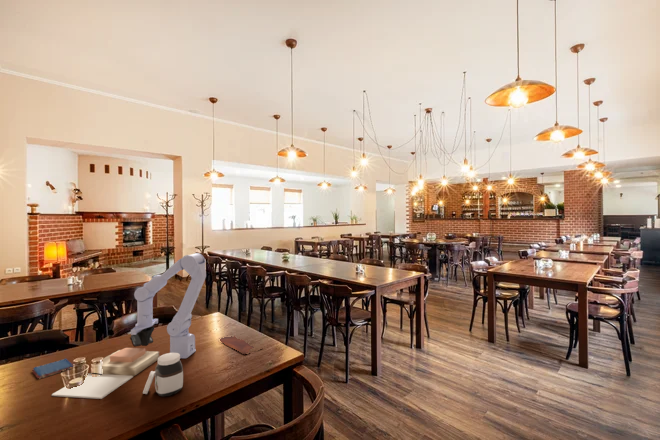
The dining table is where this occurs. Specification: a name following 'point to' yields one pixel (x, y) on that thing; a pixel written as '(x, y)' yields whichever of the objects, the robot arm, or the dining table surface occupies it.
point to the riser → (129, 364)
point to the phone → (138, 340)
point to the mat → (94, 386)
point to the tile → (128, 354)
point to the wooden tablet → (236, 344)
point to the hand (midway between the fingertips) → (145, 345)
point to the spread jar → (166, 375)
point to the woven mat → (51, 368)
